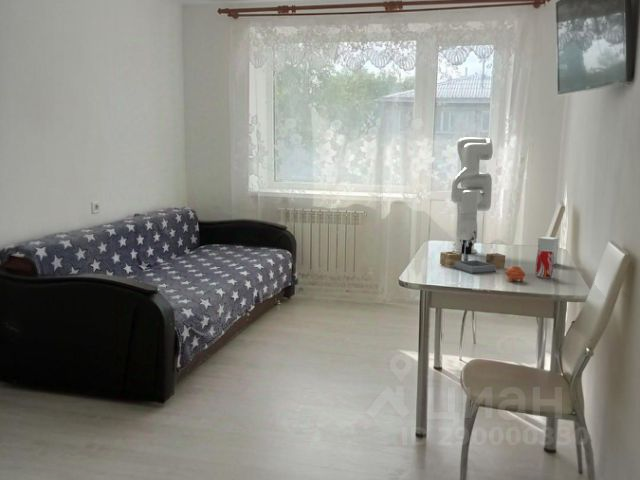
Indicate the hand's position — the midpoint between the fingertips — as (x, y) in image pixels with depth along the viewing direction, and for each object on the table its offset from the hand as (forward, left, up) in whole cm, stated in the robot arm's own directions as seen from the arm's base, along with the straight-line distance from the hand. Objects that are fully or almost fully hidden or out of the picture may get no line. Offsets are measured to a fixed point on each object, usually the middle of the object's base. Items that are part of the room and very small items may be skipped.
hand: (466, 253), depth 285 cm
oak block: (+4, -12, -4) cm, 13 cm away
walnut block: (+14, +6, -4) cm, 16 cm away
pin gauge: (0, 0, -4) cm, 4 cm away
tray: (+16, -8, -4) cm, 19 cm away
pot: (+40, -6, -4) cm, 41 cm away
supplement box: (+15, +37, -4) cm, 40 cm away
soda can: (+38, +12, -4) cm, 40 cm away
